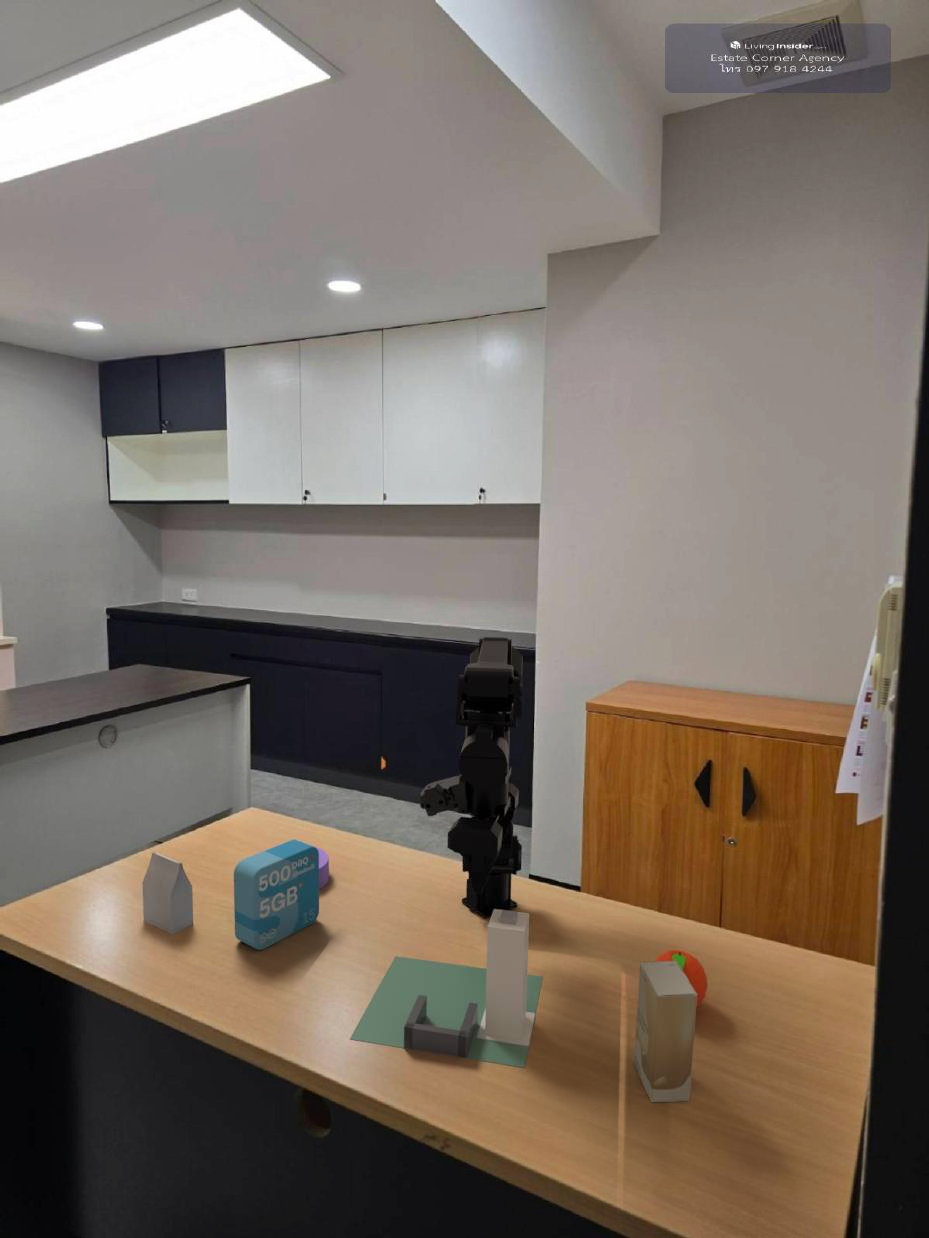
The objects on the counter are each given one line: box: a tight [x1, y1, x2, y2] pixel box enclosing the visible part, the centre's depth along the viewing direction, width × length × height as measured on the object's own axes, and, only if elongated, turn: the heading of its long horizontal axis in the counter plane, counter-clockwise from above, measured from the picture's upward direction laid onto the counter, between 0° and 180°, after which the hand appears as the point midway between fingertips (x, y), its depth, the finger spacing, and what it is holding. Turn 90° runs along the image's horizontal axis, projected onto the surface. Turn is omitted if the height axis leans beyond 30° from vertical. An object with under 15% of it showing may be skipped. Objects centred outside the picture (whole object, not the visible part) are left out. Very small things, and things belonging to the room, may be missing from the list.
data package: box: [233, 839, 320, 951], centre depth 111 cm, size 12×4×12 cm, turn 143°
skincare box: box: [633, 961, 698, 1103], centre depth 82 cm, size 6×4×12 cm
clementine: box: [653, 949, 708, 1008], centre depth 95 cm, size 8×7×7 cm
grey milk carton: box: [142, 851, 194, 935], centre depth 113 cm, size 4×7×10 cm, turn 55°
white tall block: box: [485, 909, 530, 1039], centre depth 89 cm, size 4×4×14 cm
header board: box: [349, 955, 543, 1069], centre depth 93 cm, size 18×20×4 cm
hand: (484, 876), depth 102 cm, fingers open, 9 cm apart
